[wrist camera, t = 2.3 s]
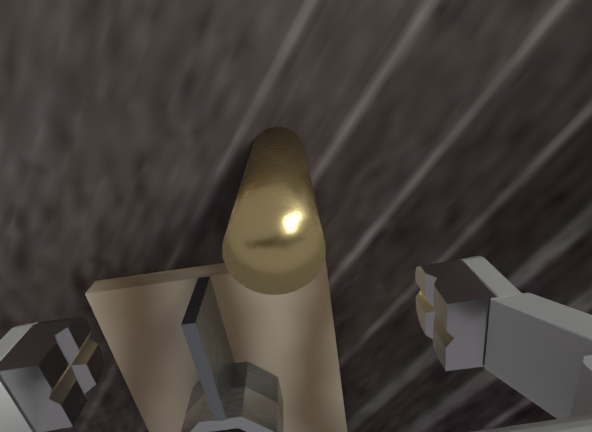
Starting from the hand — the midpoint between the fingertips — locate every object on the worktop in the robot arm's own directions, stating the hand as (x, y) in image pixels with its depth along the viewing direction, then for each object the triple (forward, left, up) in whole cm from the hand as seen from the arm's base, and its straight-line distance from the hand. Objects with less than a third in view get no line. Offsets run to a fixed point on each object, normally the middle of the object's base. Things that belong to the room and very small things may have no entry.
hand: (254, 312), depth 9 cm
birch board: (+6, +18, -15) cm, 24 cm away
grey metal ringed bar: (+6, +18, -13) cm, 23 cm away
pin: (0, 0, -15) cm, 15 cm away
